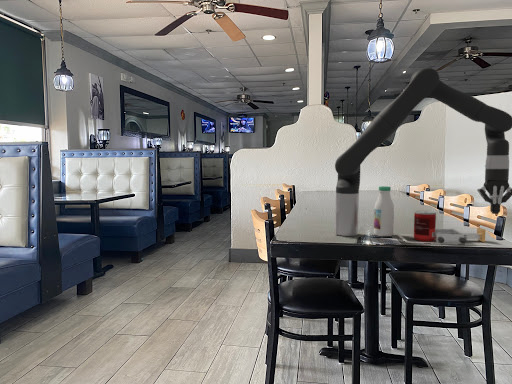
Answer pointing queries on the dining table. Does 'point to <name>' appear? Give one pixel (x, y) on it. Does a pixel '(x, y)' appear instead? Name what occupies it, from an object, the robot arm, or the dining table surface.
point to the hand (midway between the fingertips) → (495, 213)
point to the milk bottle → (384, 213)
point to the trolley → (457, 236)
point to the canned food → (424, 225)
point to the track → (434, 243)
